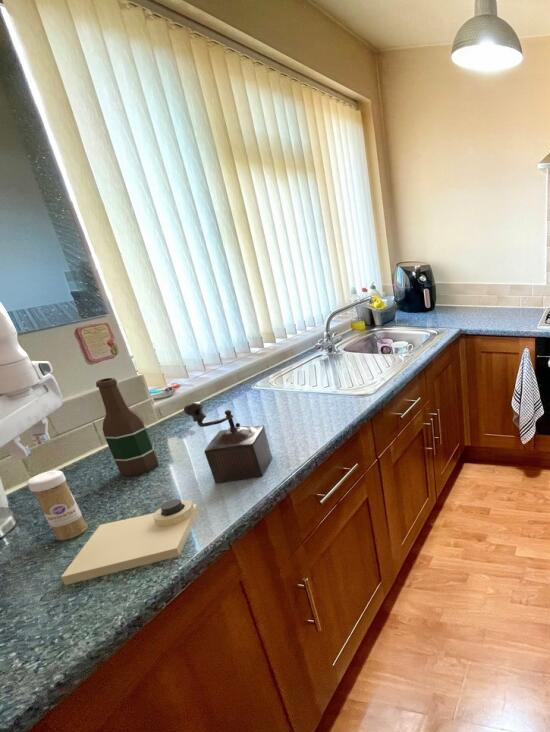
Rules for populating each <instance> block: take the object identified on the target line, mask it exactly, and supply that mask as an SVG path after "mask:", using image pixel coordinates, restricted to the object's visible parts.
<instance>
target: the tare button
mask: <svg viewBox="0 0 550 732" xmlns="http://www.w3.org/2000/svg"><path fill="white" fill-rule="evenodd" d="M181 500H182V499H180V498H174V499H169V500H168V501H166V502H164V503H163V504H161V505H160V508H161V510H162V513H163V515H164V516H169V515H173V514H176V513H178V512H180V511H181V510H182V509H183V505H182V503H181Z"/></svg>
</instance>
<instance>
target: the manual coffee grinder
mask: <svg viewBox="0 0 550 732" xmlns="http://www.w3.org/2000/svg"><path fill="white" fill-rule="evenodd" d="M203 409H204V405H203V404H202V403H201V402H200V401H195V400H194V401H191V402H187V403H186V405H184V406H183V413H184V414H186V415H188V416H190V417H192V418H193V419H192V422H196V423H197V425H198V427H201V428H206V427H210V426H214V425H215V426H216V425H218V424H221V423H224V422H226V421H228V424H229V428H228V429H221V430H219V431H218V432H217V433H216V435H214V437H213V438H212V440H211V441H210V442H209V443H208V445H207V446H206V447H205V449H204V451H203V452H204V455H205V457H206V461H207V463H208V466H209V470H210V471H211V475H212V478H213V481H214V484H217V485H218V484H226V483H231V482H232V483H233V482H240V481H245V480H251V479H257V478H262V477H264V475H265V473H266V471H267V470H268V467H269V465H270V463H271V462H272V459H273V454H272V452H271V447H270V443H269V439H268V436H267V432H266V428H265V425H263V424H262V425H254V426H251V425H241V423H239V422H237V423H234V420H233V419H234V415H233V414H232V411H231V410H230V409H226V410H225V411H224V415H225V417H223V418H220V419H216V420H213V421H212V420H211V421H209V422H208V421H207V422H204V420H205V419H206V418H207V415H206V414H205V413H204V412H203Z"/></svg>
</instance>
